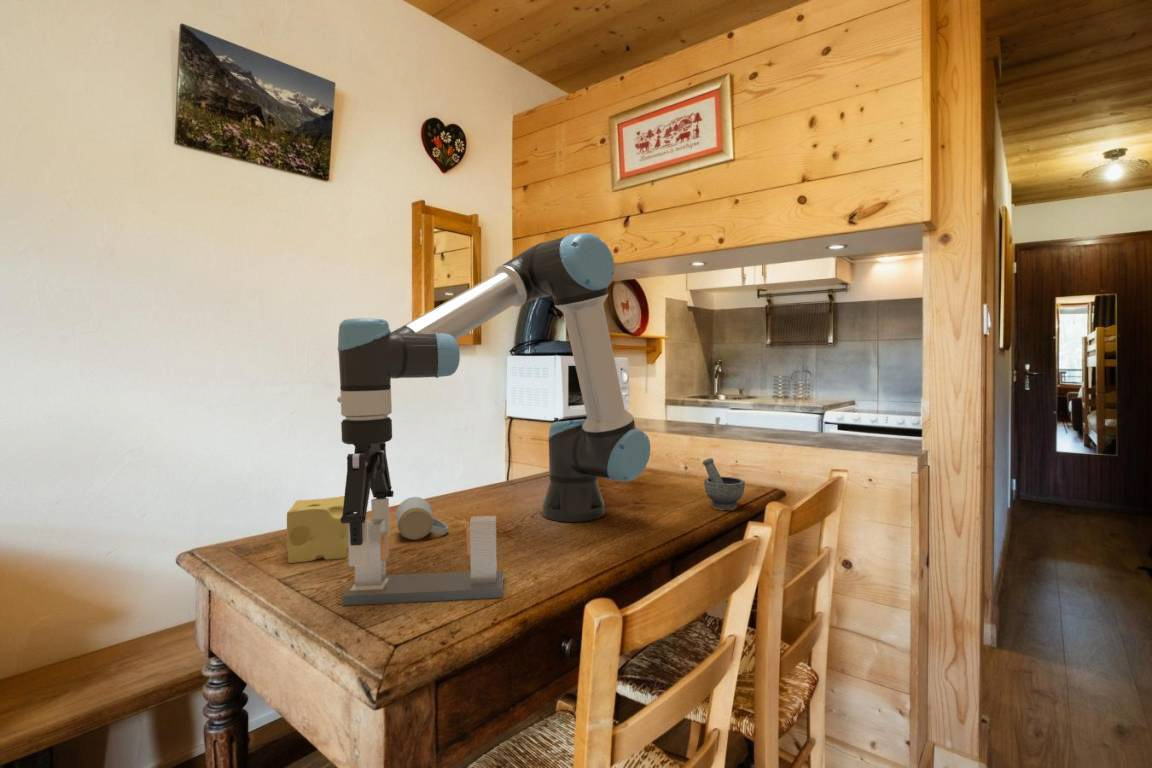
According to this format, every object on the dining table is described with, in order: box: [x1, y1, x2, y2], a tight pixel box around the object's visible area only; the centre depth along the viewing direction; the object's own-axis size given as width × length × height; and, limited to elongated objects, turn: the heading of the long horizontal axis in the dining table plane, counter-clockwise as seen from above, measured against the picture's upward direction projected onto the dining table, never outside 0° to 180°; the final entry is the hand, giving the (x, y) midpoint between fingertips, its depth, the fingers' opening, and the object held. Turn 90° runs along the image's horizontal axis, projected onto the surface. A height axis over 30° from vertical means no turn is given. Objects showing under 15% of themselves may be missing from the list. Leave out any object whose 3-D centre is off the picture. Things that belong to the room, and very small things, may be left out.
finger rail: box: [342, 515, 504, 607], centre depth 91 cm, size 24×8×12 cm, turn 96°
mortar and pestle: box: [702, 458, 746, 511], centre depth 144 cm, size 11×9×12 cm
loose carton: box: [354, 518, 390, 588], centre depth 90 cm, size 5×3×10 cm, turn 95°
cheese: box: [286, 495, 348, 564], centre depth 111 cm, size 10×11×10 cm
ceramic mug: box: [395, 496, 449, 541], centre depth 122 cm, size 11×8×8 cm
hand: (371, 550), depth 91 cm, fingers open, 13 cm apart
